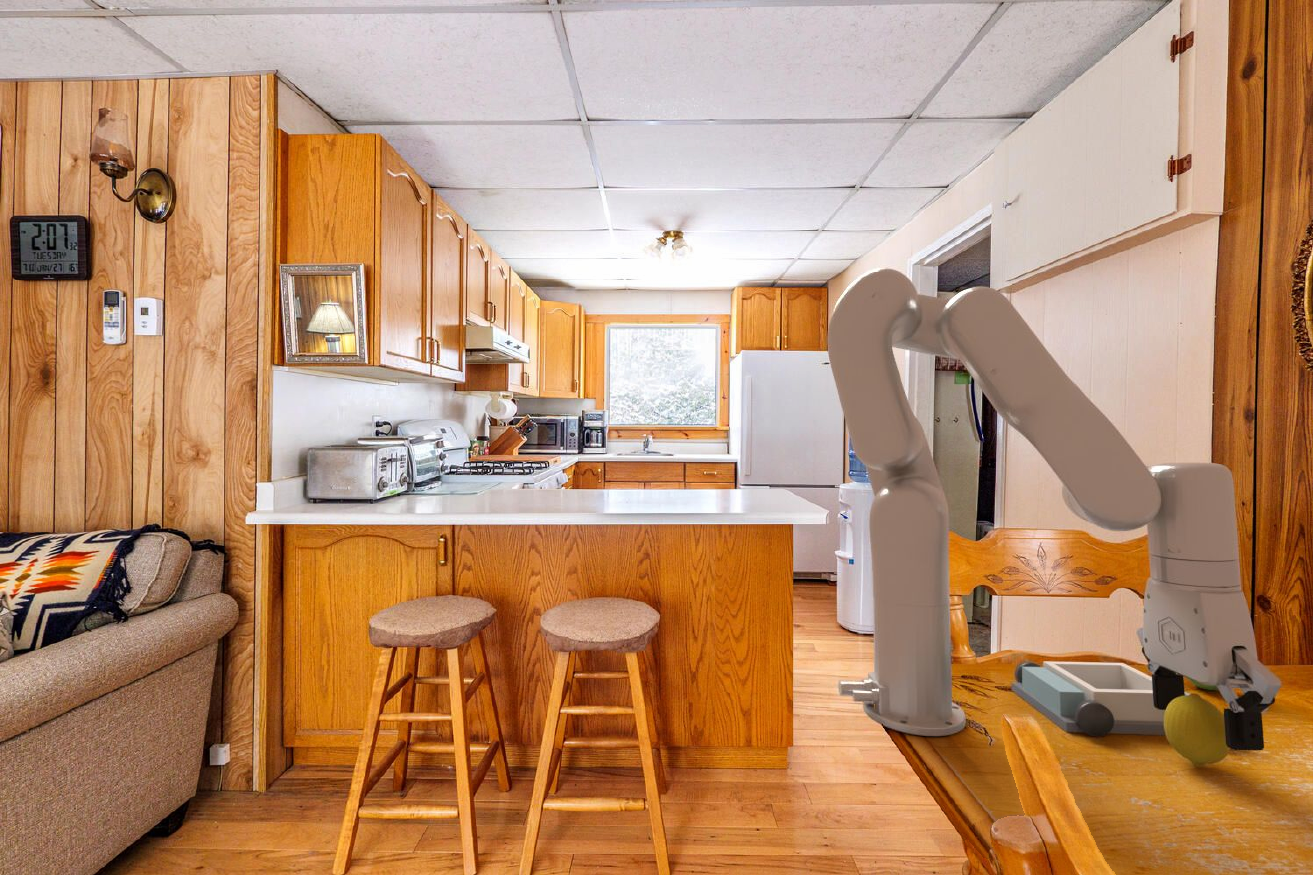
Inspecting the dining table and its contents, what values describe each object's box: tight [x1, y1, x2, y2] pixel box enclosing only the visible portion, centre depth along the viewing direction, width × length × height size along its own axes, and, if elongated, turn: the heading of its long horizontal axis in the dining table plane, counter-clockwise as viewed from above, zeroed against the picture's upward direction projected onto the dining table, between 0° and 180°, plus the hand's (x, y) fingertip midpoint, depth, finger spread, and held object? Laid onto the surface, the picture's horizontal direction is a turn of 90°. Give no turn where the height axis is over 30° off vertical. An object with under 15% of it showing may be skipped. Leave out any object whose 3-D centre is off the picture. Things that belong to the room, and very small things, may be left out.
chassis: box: [1011, 660, 1224, 738], centre depth 79 cm, size 19×15×5 cm
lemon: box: [1164, 692, 1231, 768], centre depth 65 cm, size 6×6×8 cm
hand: (1204, 727), depth 65 cm, fingers open, 9 cm apart
